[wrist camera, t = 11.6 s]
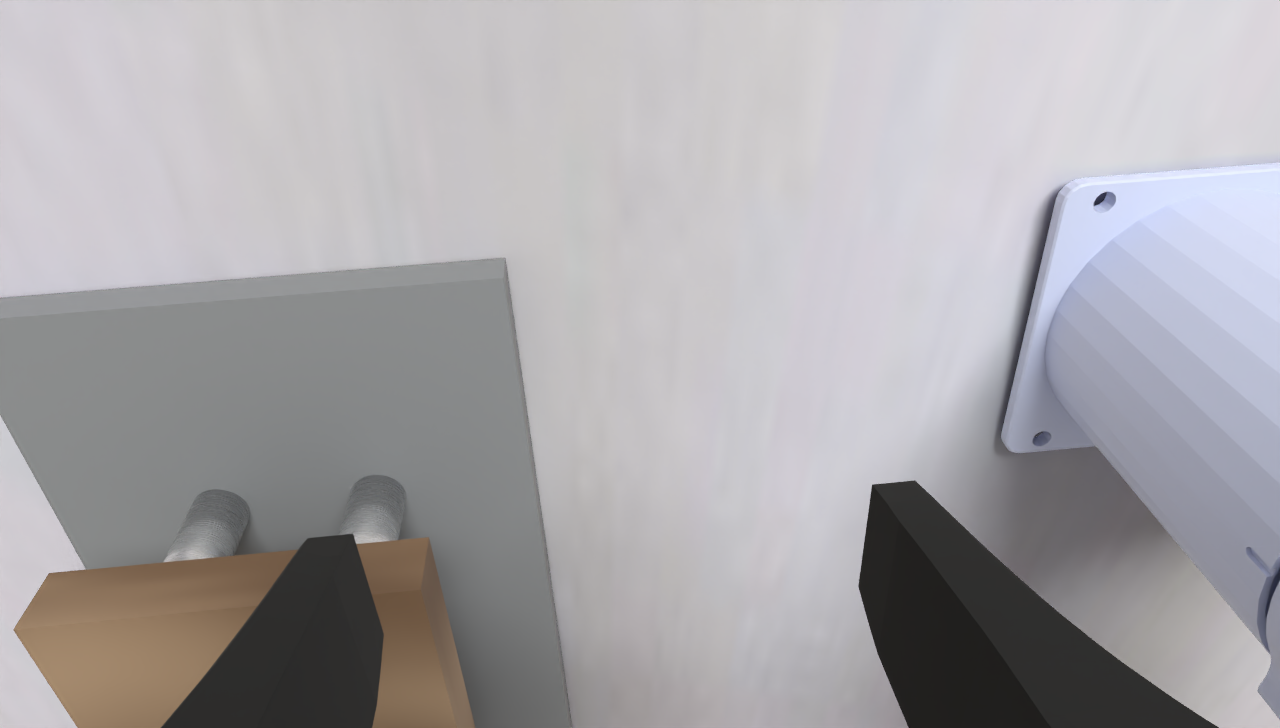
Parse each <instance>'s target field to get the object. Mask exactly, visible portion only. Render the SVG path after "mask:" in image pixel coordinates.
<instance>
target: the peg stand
mask: <svg viewBox="0 0 1280 728" xmlns="http://www.w3.org/2000/svg"><path fill="white" fill-rule="evenodd" d="M0 415H1V417H2V419H3V421H4V423H5V424H6V426H7V428H8V430H9V432H10V433H11V435H12V437H13V439H14V440H15V442H16V444H17V446H18V448H19V449H20V451H21V453H22V455H23V457H24V458H25V460H26V462H27V464H28V466H29V467H30V469H31V471H32V473H33V475H34V476H35V478H36V480H37V482H38V484H39V485H40V487H41V489H42V491H43V493H44V494H45V496H46V498H47V500H48V502H49V503H50V505H51V507H52V509H53V511H54V512H55V514H56V516H57V518H58V520H59V521H60V523H61V525H62V527H63V529H64V530H65V532H66V534H67V536H68V538H69V539H70V541H71V543H72V545H73V547H74V548H75V550H76V552H77V554H78V556H79V557H80V559H81V561H82V563H83V565H84V566H85V568H86V570H89V569H99V568H110V567H120V566H131V565H141V564H152V563H162V562H173V561H183V560H194V559H204V558H215V557H225V556H236V555H246V554H257V553H267V552H278V551H288V550H298V549H299V548H300V546H301V545H302V544H303V543H304V542H305V541H306V540H307V538H313V537H324V536H334V535H345V534H353V535H354V539H355V542H356V544H362V543H373V542H383V541H394V540H404V539H415V538H425V537H429V539H430V544H431V548H432V552H433V556H434V560H435V564H436V568H437V572H438V576H439V581H440V585H441V589H442V593H443V597H444V601H445V605H446V609H447V613H448V618H449V622H450V626H451V630H452V634H453V638H454V642H455V646H456V650H457V655H458V659H459V663H460V667H461V671H462V675H463V679H464V683H465V687H466V692H467V696H468V700H469V704H470V708H471V712H472V716H473V720H474V724H475V728H572V723H571V716H570V709H569V702H568V695H567V688H566V681H565V674H564V667H563V660H562V653H561V646H560V639H559V632H558V625H557V618H556V611H555V604H554V597H553V590H552V583H551V576H550V569H549V562H548V555H547V548H546V541H545V534H544V527H543V520H542V513H541V506H540V499H539V492H538V485H537V478H536V471H535V464H534V457H533V450H532V443H531V436H530V429H529V422H528V415H527V408H526V401H525V394H524V387H523V380H522V373H521V366H520V359H519V352H518V345H517V338H516V330H515V323H514V316H513V309H512V302H511V295H510V288H509V281H508V274H507V267H506V260H505V258H499V259H486V260H474V261H461V262H448V263H436V264H423V265H410V266H398V267H385V268H373V269H360V270H347V271H335V272H322V273H310V274H297V275H284V276H272V277H259V278H247V279H234V280H221V281H209V282H196V283H183V284H171V285H158V286H146V287H133V288H120V289H108V290H95V291H83V292H70V293H57V294H45V295H32V296H20V297H7V298H0Z"/></svg>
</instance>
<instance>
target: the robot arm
mask: <svg viewBox="0 0 1280 728" xmlns="http://www.w3.org/2000/svg"><path fill="white" fill-rule="evenodd" d="M1104 192H1107V195H1106V197H1105V199H1104V201H1102V202H1101V203H1100V204H1099V205H1096V206H1094V204H1093V203H1094V201H1095V199H1096V198H1097V197H1098V196H1099V195H1100V194H1101V193H1104ZM1042 431H1043V433H1042V434H1040V435H1039V436H1037V437H1034V436H1035V435H1036V434H1038V433H1039V432H1042ZM1001 440H1002V441H1003V443H1004V444H1005V446H1006V447H1007V449H1008V450H1009V451H1011V452H1013V453H1028V452H1039V451H1050V450H1060V449H1071V448H1082V447H1093V446H1096V447H1097V448H1098V449H1099V450H1100V452H1101V453H1102V454H1103V455H1104V456H1105V458H1106V459H1107V460H1108V461H1109V462H1110V464H1111V465H1112V466H1113V467H1114V468H1115V470H1116V471H1117V472H1118V473H1119V474H1120V476H1121V477H1122V478H1123V479H1124V480H1125V482H1126V483H1127V484H1128V485H1129V486H1130V488H1131V489H1132V490H1133V491H1134V492H1135V494H1136V495H1137V496H1138V497H1139V498H1140V499H1141V501H1142V502H1143V503H1144V504H1145V505H1146V507H1147V508H1148V509H1149V510H1150V511H1151V513H1152V514H1153V515H1154V516H1155V517H1156V519H1157V520H1158V521H1159V522H1160V523H1161V525H1162V526H1163V527H1164V528H1165V529H1166V531H1167V532H1168V533H1169V534H1170V535H1171V537H1172V538H1173V539H1174V540H1175V541H1176V543H1177V544H1178V545H1179V546H1180V547H1181V549H1182V550H1183V551H1184V552H1185V553H1186V555H1187V556H1188V557H1189V558H1190V559H1191V561H1192V562H1193V563H1194V564H1195V565H1196V567H1197V568H1198V569H1199V570H1200V571H1201V573H1202V574H1203V575H1204V576H1205V577H1206V579H1207V580H1208V581H1209V582H1210V583H1211V585H1212V586H1213V587H1214V588H1215V589H1216V591H1217V592H1218V593H1219V594H1220V595H1221V596H1222V598H1223V599H1224V600H1225V601H1226V602H1227V604H1228V605H1229V606H1230V607H1231V608H1232V610H1233V611H1234V612H1235V613H1236V614H1237V616H1238V617H1239V618H1240V619H1241V620H1242V622H1243V623H1244V624H1245V625H1246V626H1247V628H1248V629H1249V630H1250V631H1251V632H1252V634H1253V635H1254V636H1255V637H1256V638H1257V640H1258V641H1259V642H1260V643H1261V644H1262V646H1263V647H1264V648H1265V649H1266V650H1267V652H1268V653H1269V654H1270V656H1271V665H1270V668H1269V671H1268V673H1267V675H1266V677H1265V678H1264V680H1263V681H1262V683H1261V684H1260V685H1259V687H1258V693H1259V694H1260V695H1261V696H1262V698H1263V699H1264V700H1265V702H1266V703H1267V704H1268V705H1269V707H1270V708H1271V709H1272V710H1273V712H1274V713H1275V714H1276V716H1277V717H1278V718H1279V719H1280V163H1269V164H1256V165H1243V166H1230V167H1217V168H1204V169H1191V170H1178V171H1165V172H1152V173H1139V174H1126V175H1113V176H1100V177H1087V178H1079V179H1075V180H1072V181H1071V182H1069V183H1068V184H1066V185H1065V186H1064V187H1063V188H1062V189H1061V190H1060V191H1059V193H1058V196H1057V198H1056V201H1055V205H1054V209H1053V214H1052V218H1051V222H1050V226H1049V231H1048V235H1047V239H1046V244H1045V248H1044V252H1043V257H1042V261H1041V265H1040V270H1039V274H1038V278H1037V282H1036V287H1035V291H1034V295H1033V300H1032V304H1031V308H1030V313H1029V317H1028V321H1027V325H1026V330H1025V334H1024V338H1023V343H1022V347H1021V351H1020V356H1019V360H1018V364H1017V368H1016V373H1015V377H1014V381H1013V386H1012V390H1011V394H1010V399H1009V403H1008V407H1007V412H1006V416H1005V420H1004V424H1003V429H1002V433H1001ZM859 590H860V593H861V597H862V601H863V604H864V608H865V612H866V615H867V619H868V622H869V626H870V629H871V632H872V636H873V639H874V642H875V646H876V649H877V652H878V655H879V658H880V660H881V663H882V665H883V667H884V670H885V672H886V675H887V677H888V679H889V682H890V684H891V687H892V689H893V691H894V694H895V696H896V699H897V701H898V703H899V706H900V708H901V710H902V713H903V715H904V717H905V720H906V722H907V724H908V727H909V728H1219V727H1217V726H1215V725H1214V724H1212V723H1210V722H1209V721H1207V720H1206V719H1204V718H1202V717H1201V716H1199V715H1198V714H1196V713H1195V712H1193V711H1192V710H1190V709H1189V708H1187V707H1186V706H1184V705H1183V704H1181V703H1180V702H1178V701H1177V700H1175V699H1174V698H1172V697H1171V696H1169V695H1168V694H1166V693H1165V692H1164V691H1162V690H1161V689H1159V688H1158V687H1156V686H1155V685H1154V684H1152V683H1151V682H1149V681H1148V680H1146V679H1145V678H1144V677H1142V676H1141V675H1139V674H1138V673H1137V672H1135V671H1134V670H1132V669H1131V668H1129V667H1128V666H1127V665H1125V664H1124V663H1122V662H1121V661H1120V660H1118V659H1117V658H1116V657H1114V656H1113V655H1112V654H1110V653H1109V652H1108V651H1106V650H1105V649H1104V648H1102V647H1101V646H1100V645H1098V644H1097V643H1096V642H1095V641H1093V640H1092V639H1091V638H1090V637H1088V636H1087V635H1086V634H1085V633H1083V632H1082V631H1081V630H1080V629H1078V628H1077V627H1076V626H1075V625H1073V624H1072V623H1071V622H1070V621H1068V620H1067V619H1066V618H1065V617H1063V616H1062V615H1061V614H1060V613H1059V612H1057V611H1056V610H1055V609H1054V608H1053V607H1052V606H1050V605H1049V604H1048V603H1047V602H1046V601H1044V600H1043V599H1042V598H1041V597H1040V596H1039V595H1038V594H1036V593H1035V592H1034V591H1033V590H1032V589H1031V588H1030V587H1028V586H1027V585H1026V584H1025V583H1024V582H1023V581H1022V580H1021V579H1019V578H1018V577H1017V576H1016V575H1015V574H1014V573H1013V572H1012V571H1010V570H1009V569H1008V568H1007V567H1006V566H1005V565H1004V564H1003V563H1002V562H1000V561H999V560H998V559H997V558H996V557H995V556H994V555H993V554H992V553H991V552H990V551H988V550H987V549H986V548H985V547H984V546H983V545H982V544H981V543H980V542H979V541H978V540H977V539H976V538H975V537H974V536H973V535H972V534H970V533H969V532H968V531H967V530H966V529H965V528H964V527H963V526H962V525H961V524H960V523H959V522H958V521H957V520H956V519H955V518H954V517H953V516H952V515H951V514H950V513H949V512H947V511H946V510H945V509H944V508H943V507H942V506H941V505H940V504H939V503H938V502H937V501H936V500H935V499H934V498H933V497H932V496H931V495H930V494H929V493H928V492H927V491H926V490H925V489H923V488H922V487H921V486H920V485H919V484H918V483H917V482H916V481H907V482H896V483H886V484H875V485H872V491H871V498H870V506H869V513H868V520H867V528H866V535H865V542H864V550H863V557H862V565H861V572H860V579H859ZM383 638H384V633H383V629H382V626H381V623H380V620H379V616H378V613H377V610H376V607H375V604H374V600H373V597H372V594H371V591H370V587H369V584H368V581H367V578H366V574H365V571H364V568H363V565H362V561H361V558H360V555H359V552H358V548H357V545H356V542H355V539H354V535H353V534H345V535H334V536H324V537H313V538H307V540H306V541H305V542H304V543H303V544H302V545H301V546H300V548H299V549H298V551H297V552H296V553H295V555H294V556H293V557H292V559H291V560H290V562H289V563H288V564H287V566H286V567H285V569H284V570H283V571H282V573H281V574H280V576H279V577H278V578H277V580H276V581H275V583H274V584H273V585H272V587H271V588H270V590H269V591H268V592H267V594H266V595H265V596H264V598H263V599H262V601H261V602H260V603H259V605H258V606H257V607H256V609H255V610H254V611H253V613H252V614H251V616H250V617H249V618H248V620H247V621H246V622H245V624H244V625H243V626H242V628H241V629H240V630H239V631H238V633H237V634H236V635H235V637H234V638H233V639H232V641H231V642H230V643H229V644H228V646H227V647H226V648H225V650H224V651H223V652H222V654H221V655H220V656H219V657H218V659H217V660H216V661H215V663H214V664H213V665H212V666H211V668H210V669H209V670H208V672H207V673H206V674H205V675H204V677H203V678H202V679H201V680H200V682H199V683H198V684H197V685H196V686H195V688H194V689H193V690H192V691H191V692H190V693H189V695H188V696H187V697H186V698H185V699H184V701H183V702H182V703H181V704H180V705H179V707H178V708H177V709H176V710H175V711H174V712H173V714H172V715H171V716H170V717H169V718H168V720H167V721H166V722H165V723H164V724H163V726H162V727H161V728H372V726H373V721H374V717H375V712H376V707H377V699H378V690H379V681H380V672H381V661H382V650H383Z"/></svg>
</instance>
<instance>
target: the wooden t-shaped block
mask: <svg viewBox="0 0 1280 728" xmlns="http://www.w3.org/2000/svg"><path fill="white" fill-rule="evenodd" d="M356 545H357V548H358V552H359V555H360V558H361V561H362V565H363V568H364V571H365V574H366V578H367V581H368V584H369V587H370V591H371V594H372V597H373V600H374V604H375V607H376V610H377V613H378V616H379V620H380V623H381V626H382V629H383V633H384V638H383V650H382V661H381V672H380V681H379V690H378V699H377V707H376V712H375V717H374V721H373V726H372V728H475V724H474V720H473V716H472V712H471V708H470V704H469V700H468V696H467V692H466V687H465V683H464V679H463V675H462V671H461V667H460V663H459V659H458V655H457V650H456V646H455V642H454V638H453V634H452V630H451V626H450V622H449V618H448V613H447V609H446V605H445V601H444V597H443V593H442V589H441V585H440V581H439V576H438V572H437V568H436V564H435V560H434V556H433V552H432V548H431V544H430V539H429V537H425V538H415V539H404V540H394V541H383V542H373V543H362V544H356ZM297 551H298V550H288V551H278V552H267V553H257V554H246V555H236V556H225V557H215V558H204V559H194V560H183V561H173V562H162V563H152V564H141V565H131V566H120V567H110V568H99V569H89V570H78V571H68V572H57V573H49V574H48V576H47V577H46V579H45V580H44V582H43V584H42V585H41V587H40V588H39V590H38V592H37V593H36V595H35V596H34V598H33V599H32V601H31V603H30V604H29V606H28V607H27V609H26V611H25V612H24V614H23V615H22V617H21V618H20V620H19V622H18V623H17V625H16V626H15V628H14V631H15V633H16V634H17V636H18V638H19V639H20V641H21V642H22V644H23V645H24V647H25V648H26V650H27V651H28V653H29V654H30V656H31V657H32V659H33V660H34V662H35V663H36V665H37V666H38V668H39V669H40V671H41V673H42V674H43V676H44V677H45V679H46V680H47V682H48V683H49V685H50V686H51V688H52V689H53V691H54V692H55V694H56V695H57V697H58V698H59V700H60V701H61V703H62V705H63V706H64V708H65V709H66V711H67V712H68V714H69V715H70V717H71V718H72V720H73V721H74V723H75V724H76V726H77V727H78V728H161V727H162V726H163V724H164V723H165V722H166V721H167V720H168V718H169V717H170V716H171V715H172V714H173V712H174V711H175V710H176V709H177V708H178V707H179V705H180V704H181V703H182V702H183V701H184V699H185V698H186V697H187V696H188V695H189V693H190V692H191V691H192V690H193V689H194V688H195V686H196V685H197V684H198V683H199V682H200V680H201V679H202V678H203V677H204V675H205V674H206V673H207V672H208V670H209V669H210V668H211V666H212V665H213V664H214V663H215V661H216V660H217V659H218V657H219V656H220V655H221V654H222V652H223V651H224V650H225V648H226V647H227V646H228V644H229V643H230V642H231V641H232V639H233V638H234V637H235V635H236V634H237V633H238V631H239V630H240V629H241V628H242V626H243V625H244V624H245V622H246V621H247V620H248V618H249V617H250V616H251V614H252V613H253V611H254V610H255V609H256V607H257V606H258V605H259V603H260V602H261V601H262V599H263V598H264V596H265V595H266V594H267V592H268V591H269V590H270V588H271V587H272V585H273V584H274V583H275V581H276V580H277V578H278V577H279V576H280V574H281V573H282V571H283V570H284V569H285V567H286V566H287V564H288V563H289V562H290V560H291V559H292V557H293V556H294V555H295V553H296V552H297Z"/></svg>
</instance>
